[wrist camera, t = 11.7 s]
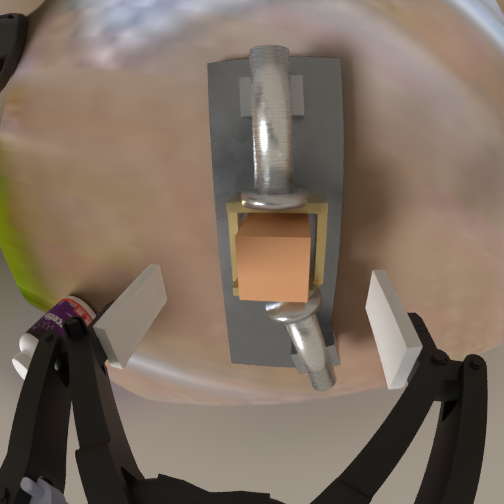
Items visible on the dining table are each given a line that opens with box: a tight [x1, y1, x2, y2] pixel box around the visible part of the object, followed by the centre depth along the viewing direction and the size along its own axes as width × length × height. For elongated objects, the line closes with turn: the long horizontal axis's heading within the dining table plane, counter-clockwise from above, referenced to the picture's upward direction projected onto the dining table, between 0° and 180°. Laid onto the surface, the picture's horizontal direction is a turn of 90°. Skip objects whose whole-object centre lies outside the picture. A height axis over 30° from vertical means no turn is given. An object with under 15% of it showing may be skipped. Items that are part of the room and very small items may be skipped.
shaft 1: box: [239, 45, 308, 211], centre depth 18 cm, size 11×5×6 cm, turn 2°
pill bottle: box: [12, 296, 96, 380], centre depth 29 cm, size 8×8×14 cm
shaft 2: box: [266, 284, 340, 391], centre depth 25 cm, size 11×5×6 cm, turn 22°
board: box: [207, 57, 344, 367], centre depth 24 cm, size 32×11×4 cm, turn 2°
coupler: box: [235, 213, 311, 302], centre depth 22 cm, size 5×5×6 cm
